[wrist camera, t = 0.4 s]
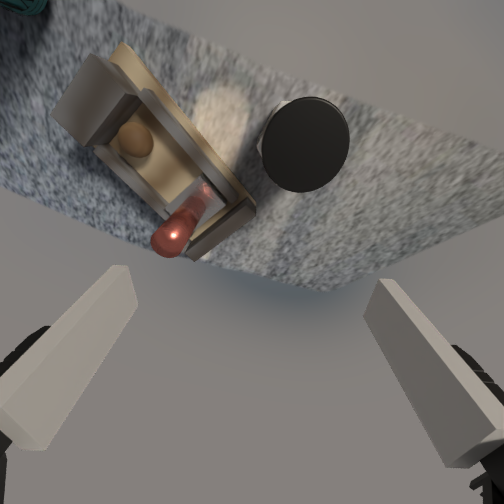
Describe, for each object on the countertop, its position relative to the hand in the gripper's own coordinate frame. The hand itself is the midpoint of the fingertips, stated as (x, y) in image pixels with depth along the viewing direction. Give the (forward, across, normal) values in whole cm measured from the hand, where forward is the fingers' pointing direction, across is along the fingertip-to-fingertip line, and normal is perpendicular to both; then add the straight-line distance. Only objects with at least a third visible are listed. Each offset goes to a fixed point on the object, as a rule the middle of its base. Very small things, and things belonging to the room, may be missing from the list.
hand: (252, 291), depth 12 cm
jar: (+25, +4, +6) cm, 26 cm away
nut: (+23, -15, +5) cm, 28 cm away
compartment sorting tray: (+25, -12, +2) cm, 28 cm away
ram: (+23, -8, -3) cm, 25 cm away
